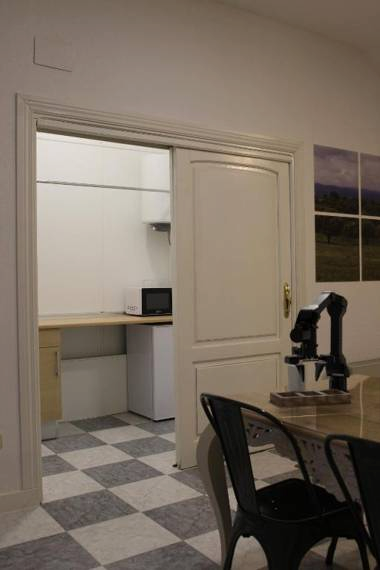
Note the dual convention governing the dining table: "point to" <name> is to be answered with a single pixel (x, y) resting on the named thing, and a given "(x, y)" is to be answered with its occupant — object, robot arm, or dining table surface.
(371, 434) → the dining table surface
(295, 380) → the skincare box
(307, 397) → the rail
